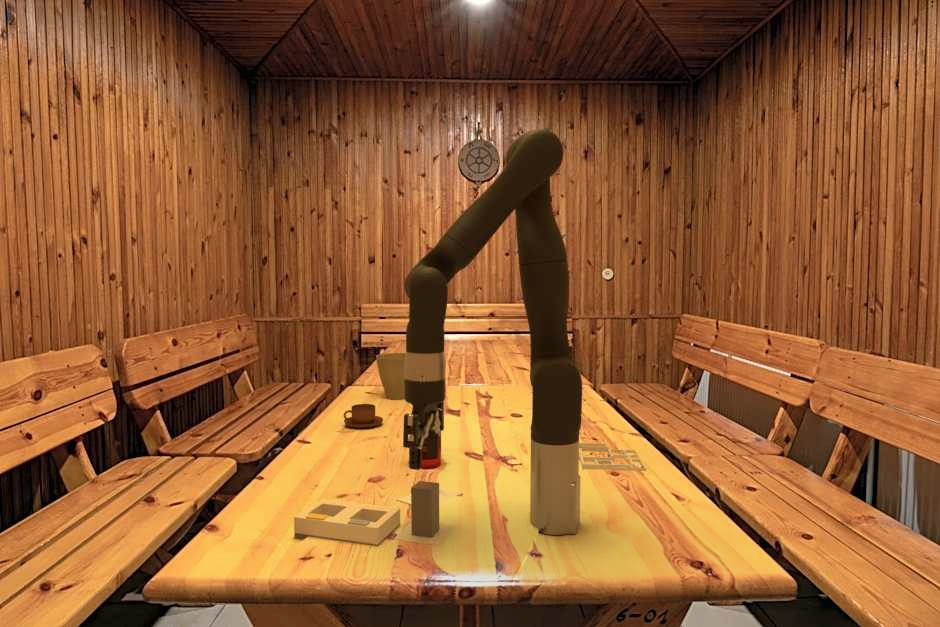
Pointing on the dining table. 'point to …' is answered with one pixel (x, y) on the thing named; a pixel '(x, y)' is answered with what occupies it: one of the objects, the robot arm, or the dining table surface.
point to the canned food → (430, 460)
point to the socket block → (347, 522)
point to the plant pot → (392, 374)
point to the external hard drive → (443, 495)
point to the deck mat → (435, 540)
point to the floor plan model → (608, 458)
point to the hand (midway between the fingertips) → (424, 462)
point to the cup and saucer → (362, 416)
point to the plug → (425, 509)
